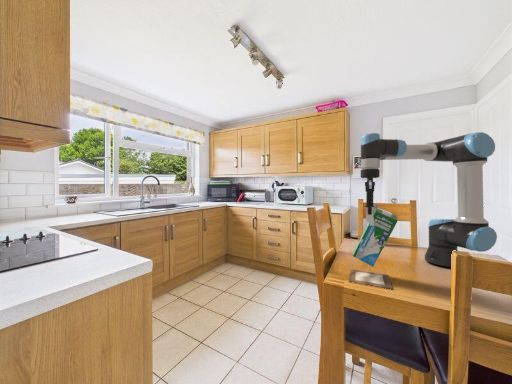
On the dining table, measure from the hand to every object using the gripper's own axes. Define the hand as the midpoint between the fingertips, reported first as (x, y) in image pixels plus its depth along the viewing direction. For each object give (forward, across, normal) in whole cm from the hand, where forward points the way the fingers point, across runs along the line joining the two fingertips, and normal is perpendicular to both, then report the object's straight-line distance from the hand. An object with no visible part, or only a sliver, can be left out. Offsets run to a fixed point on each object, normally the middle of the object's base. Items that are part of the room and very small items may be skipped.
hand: (369, 221), depth 97 cm
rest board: (+26, 0, 0) cm, 26 cm away
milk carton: (+18, -3, -3) cm, 19 cm away
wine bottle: (+26, -68, +6) cm, 73 cm away
